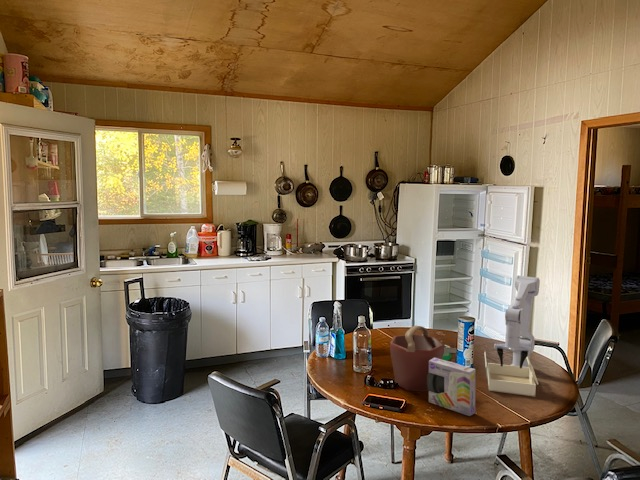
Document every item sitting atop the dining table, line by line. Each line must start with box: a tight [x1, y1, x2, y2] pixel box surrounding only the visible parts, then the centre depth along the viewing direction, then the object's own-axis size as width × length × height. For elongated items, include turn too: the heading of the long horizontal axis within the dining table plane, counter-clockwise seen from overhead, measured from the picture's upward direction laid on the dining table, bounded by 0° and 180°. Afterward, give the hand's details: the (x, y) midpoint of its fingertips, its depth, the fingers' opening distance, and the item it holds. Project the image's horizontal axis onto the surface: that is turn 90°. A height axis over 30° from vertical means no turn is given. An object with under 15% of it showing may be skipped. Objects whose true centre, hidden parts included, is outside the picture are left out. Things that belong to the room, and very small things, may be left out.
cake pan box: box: [427, 358, 477, 417], centre depth 191 cm, size 19×5×18 cm, turn 45°
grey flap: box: [483, 351, 488, 380], centre depth 216 cm, size 20×5×1 cm
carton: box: [487, 362, 537, 397], centre depth 214 cm, size 20×18×5 cm
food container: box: [439, 340, 458, 363], centre depth 235 cm, size 12×6×10 cm, turn 21°
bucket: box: [389, 325, 445, 392], centre depth 213 cm, size 24×22×25 cm
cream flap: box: [526, 357, 539, 386], centre depth 211 cm, size 20×5×1 cm
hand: (511, 366), depth 213 cm, fingers open, 7 cm apart
